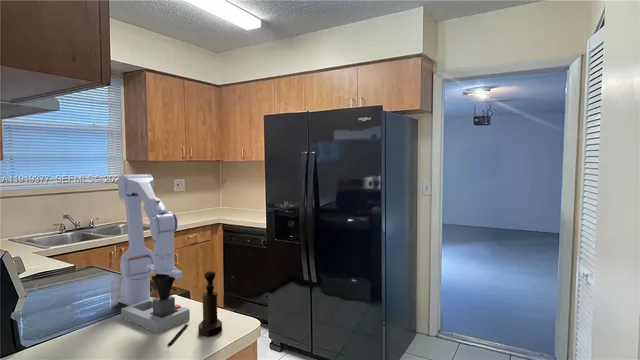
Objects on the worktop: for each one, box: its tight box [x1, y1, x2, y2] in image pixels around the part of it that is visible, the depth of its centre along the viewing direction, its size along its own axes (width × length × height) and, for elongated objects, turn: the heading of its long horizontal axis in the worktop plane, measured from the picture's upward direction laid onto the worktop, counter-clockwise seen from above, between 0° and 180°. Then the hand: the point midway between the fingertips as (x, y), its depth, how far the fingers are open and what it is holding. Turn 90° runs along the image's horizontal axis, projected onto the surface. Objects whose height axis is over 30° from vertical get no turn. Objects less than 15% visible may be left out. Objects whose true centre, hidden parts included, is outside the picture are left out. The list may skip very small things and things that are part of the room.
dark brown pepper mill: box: [197, 268, 223, 338], centre depth 101 cm, size 7×6×18 cm
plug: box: [153, 295, 176, 318], centre depth 107 cm, size 4×4×7 cm
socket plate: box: [120, 297, 191, 333], centre depth 110 cm, size 18×11×4 cm, turn 59°
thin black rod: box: [167, 323, 189, 347], centre depth 100 cm, size 12×1×1 cm, turn 179°
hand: (164, 298), depth 107 cm, fingers closed, pressing on plug
